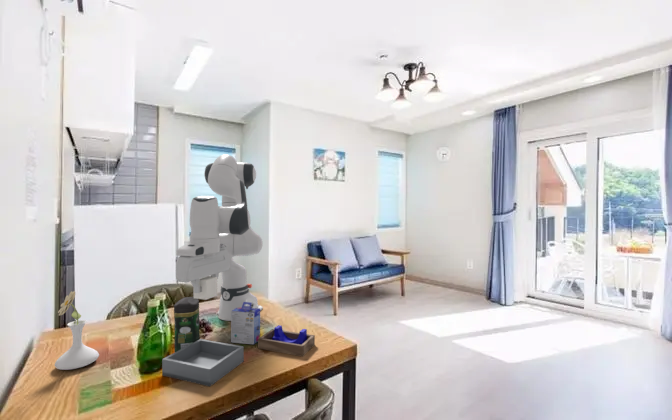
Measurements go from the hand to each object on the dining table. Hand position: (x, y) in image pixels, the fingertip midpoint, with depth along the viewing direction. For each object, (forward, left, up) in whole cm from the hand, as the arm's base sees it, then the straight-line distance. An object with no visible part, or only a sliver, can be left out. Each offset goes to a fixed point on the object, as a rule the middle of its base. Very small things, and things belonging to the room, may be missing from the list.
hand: (205, 290), depth 104 cm
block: (0, 0, -2) cm, 2 cm away
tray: (0, 0, -25) cm, 25 cm away
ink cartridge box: (-22, 0, -25) cm, 33 cm away
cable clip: (-24, +17, -25) cm, 39 cm away
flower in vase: (+13, -40, -25) cm, 49 cm away
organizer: (-23, +17, -25) cm, 38 cm away
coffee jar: (-8, -15, -25) cm, 31 cm away
